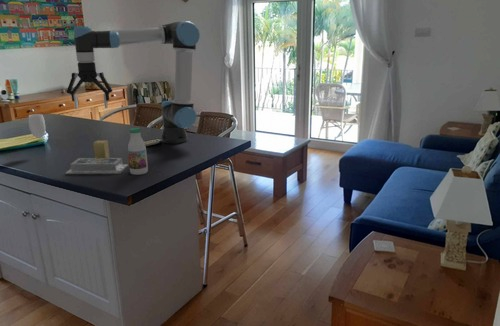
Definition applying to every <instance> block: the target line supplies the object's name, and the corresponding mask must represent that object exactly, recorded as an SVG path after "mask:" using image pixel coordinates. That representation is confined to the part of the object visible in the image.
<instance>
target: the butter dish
mask: <svg viewBox="0 0 500 326" xmlns="http://www.w3.org/2000/svg"><path fill="white" fill-rule="evenodd" d="M127 167H129V163H127V164H126V163H124V164H123V158H122V157H110V158H95V157H88V158H87V157H78V158H76V159H75V160H74V161H73V162H72V163H70V169H68V170H66V172H65V175H120V174H122V172H123V171H124V170H125V169H127Z"/></svg>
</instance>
